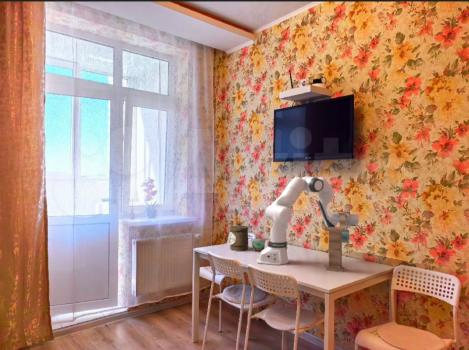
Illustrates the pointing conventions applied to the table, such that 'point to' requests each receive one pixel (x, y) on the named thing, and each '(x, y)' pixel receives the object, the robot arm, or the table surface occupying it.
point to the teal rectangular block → (343, 225)
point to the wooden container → (239, 237)
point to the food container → (258, 244)
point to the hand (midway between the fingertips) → (342, 213)
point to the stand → (335, 249)
